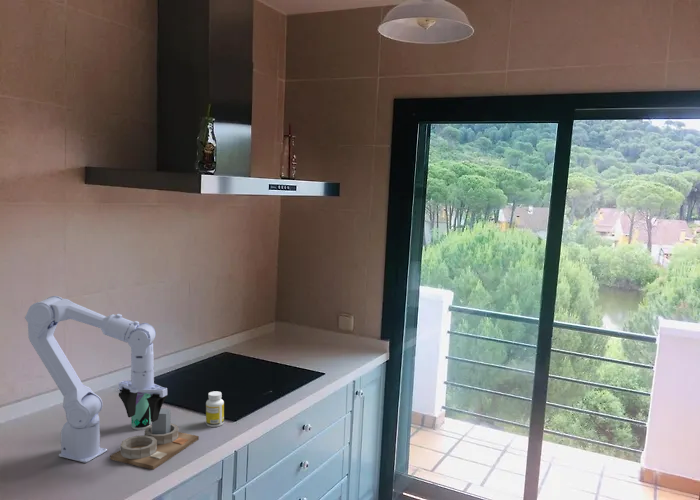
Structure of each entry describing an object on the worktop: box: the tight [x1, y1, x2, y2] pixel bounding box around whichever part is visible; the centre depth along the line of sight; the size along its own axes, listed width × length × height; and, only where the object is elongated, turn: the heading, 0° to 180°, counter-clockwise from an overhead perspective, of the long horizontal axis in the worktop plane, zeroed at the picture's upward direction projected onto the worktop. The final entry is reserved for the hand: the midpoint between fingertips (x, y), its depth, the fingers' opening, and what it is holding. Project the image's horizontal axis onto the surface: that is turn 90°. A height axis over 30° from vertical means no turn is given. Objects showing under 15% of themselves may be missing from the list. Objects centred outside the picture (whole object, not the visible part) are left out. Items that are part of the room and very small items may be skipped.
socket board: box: [109, 423, 200, 470], centre depth 163 cm, size 14×20×4 cm
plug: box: [151, 407, 172, 434], centre depth 167 cm, size 4×4×8 cm
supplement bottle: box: [205, 390, 225, 428], centre depth 181 cm, size 5×5×10 cm
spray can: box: [130, 392, 151, 431], centre depth 176 cm, size 6×6×20 cm
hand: (142, 418), depth 158 cm, fingers open, 7 cm apart
